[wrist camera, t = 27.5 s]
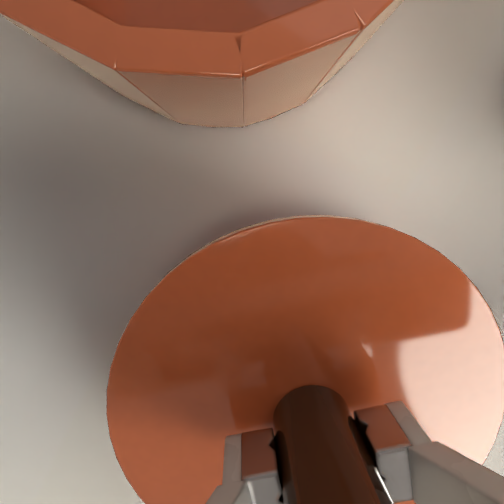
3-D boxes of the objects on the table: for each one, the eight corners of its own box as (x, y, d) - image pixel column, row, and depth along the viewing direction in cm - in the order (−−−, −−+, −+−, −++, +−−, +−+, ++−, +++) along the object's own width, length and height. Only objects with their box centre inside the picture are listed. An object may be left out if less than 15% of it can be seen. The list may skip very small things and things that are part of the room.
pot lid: (69, 472, 12) (-52, 682, 7) (208, 139, 9) (172, 94, 4) (368, 567, 14) (441, 789, 9) (555, 309, 11) (811, 415, 6)
